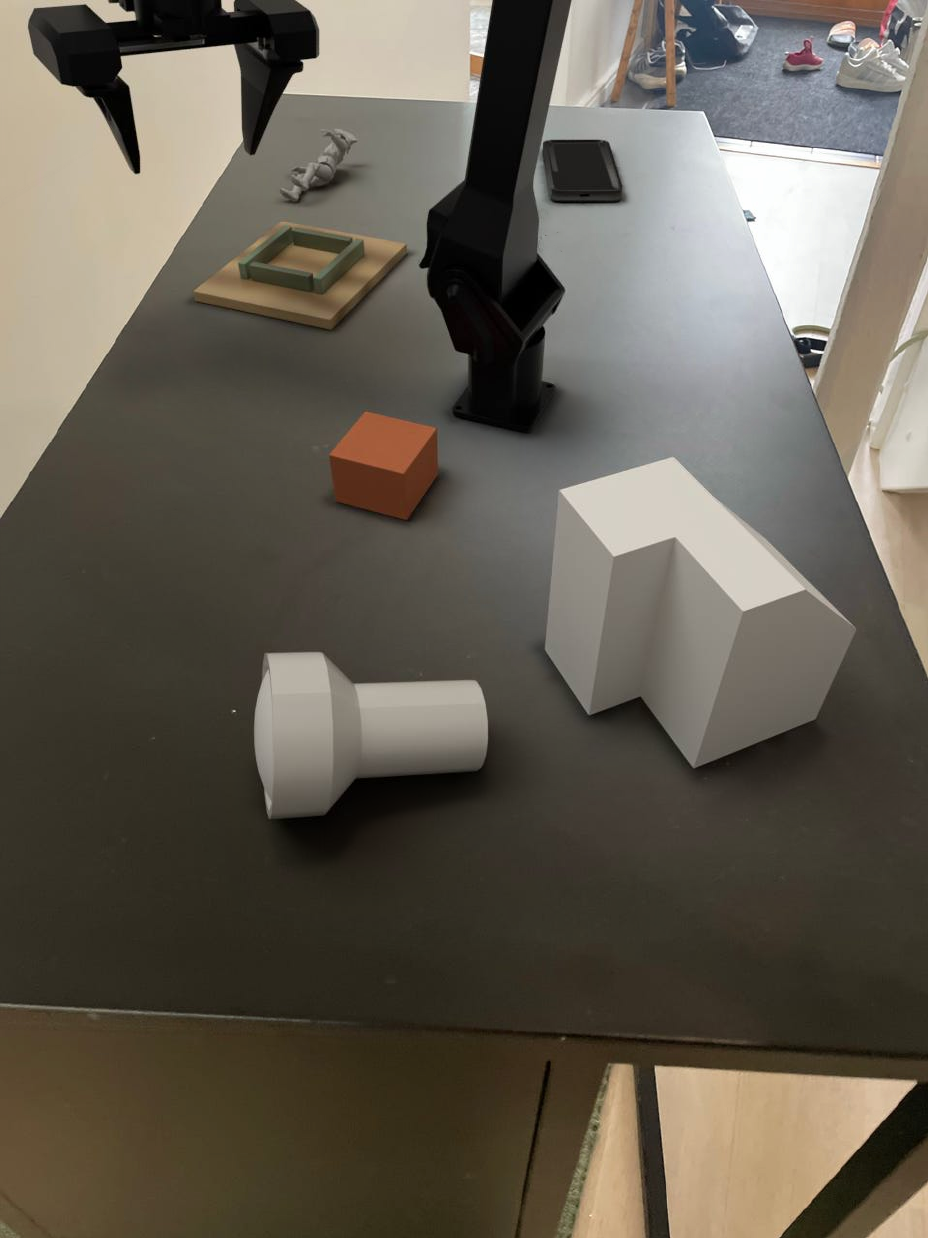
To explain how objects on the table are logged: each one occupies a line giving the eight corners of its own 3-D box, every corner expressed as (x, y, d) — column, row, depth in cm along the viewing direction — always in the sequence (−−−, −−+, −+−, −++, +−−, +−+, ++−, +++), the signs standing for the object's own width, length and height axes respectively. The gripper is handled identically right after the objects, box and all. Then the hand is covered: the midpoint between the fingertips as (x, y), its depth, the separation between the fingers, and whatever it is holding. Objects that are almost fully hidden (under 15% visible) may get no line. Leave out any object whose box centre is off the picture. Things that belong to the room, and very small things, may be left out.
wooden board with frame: (331, 330, 80) (328, 303, 78) (195, 301, 83) (189, 274, 81) (407, 253, 90) (406, 227, 88) (283, 230, 93) (279, 205, 92)
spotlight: (248, 702, 50) (255, 620, 43) (449, 694, 53) (483, 617, 46) (255, 845, 45) (263, 777, 39) (473, 827, 48) (514, 762, 42)
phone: (608, 139, 107) (623, 190, 97) (607, 149, 108) (622, 201, 98) (541, 139, 107) (549, 190, 97) (540, 149, 108) (549, 201, 98)
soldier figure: (266, 206, 100) (303, 133, 105) (303, 235, 102) (338, 162, 107) (298, 166, 94) (336, 91, 98) (337, 198, 96) (372, 122, 101)
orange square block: (406, 520, 62) (403, 473, 59) (335, 501, 63) (328, 454, 61) (438, 474, 66) (437, 427, 63) (369, 457, 67) (365, 410, 64)
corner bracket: (544, 649, 54) (559, 490, 45) (705, 594, 57) (748, 434, 48) (639, 790, 47) (677, 634, 38) (815, 719, 50) (888, 559, 42)
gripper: (245, -130, 65) (256, 103, 77) (-30, -127, 57) (30, 134, 69) (323, -82, 60) (322, 160, 72) (33, -71, 51) (87, 201, 63)
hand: (194, 161), depth 69 cm, fingers open, 9 cm apart
